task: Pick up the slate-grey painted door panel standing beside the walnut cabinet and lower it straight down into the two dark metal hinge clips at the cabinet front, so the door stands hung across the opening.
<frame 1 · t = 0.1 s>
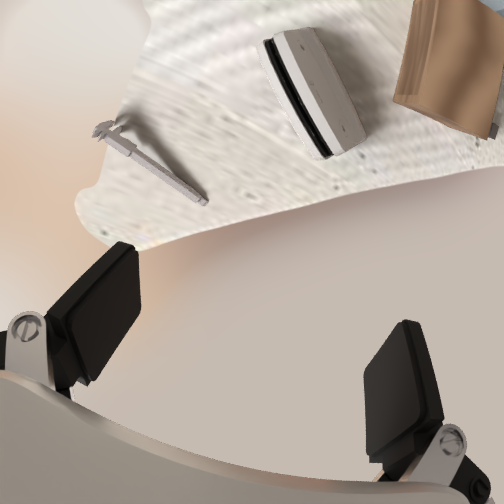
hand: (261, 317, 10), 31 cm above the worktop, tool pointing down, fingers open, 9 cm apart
caliper: (157, 159, 41), on the worktop
cabinet: (435, 62, 26), on the worktop
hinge: (314, 91, 32), on the worktop
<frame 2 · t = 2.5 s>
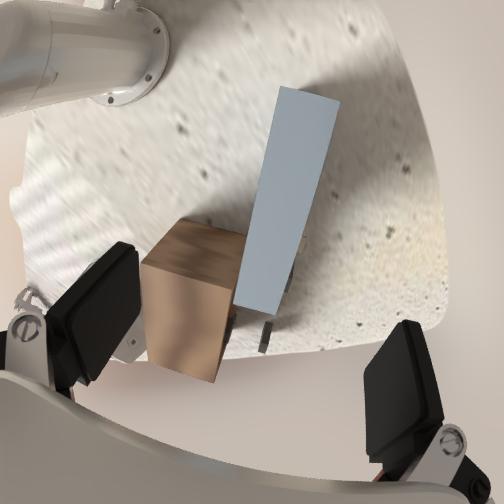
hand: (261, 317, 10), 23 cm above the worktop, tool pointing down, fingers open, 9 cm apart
caliper: (57, 316, 54), on the worktop
cabinet: (207, 280, 39), on the worktop
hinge: (122, 301, 45), on the worktop
door: (293, 159, 29), on the worktop
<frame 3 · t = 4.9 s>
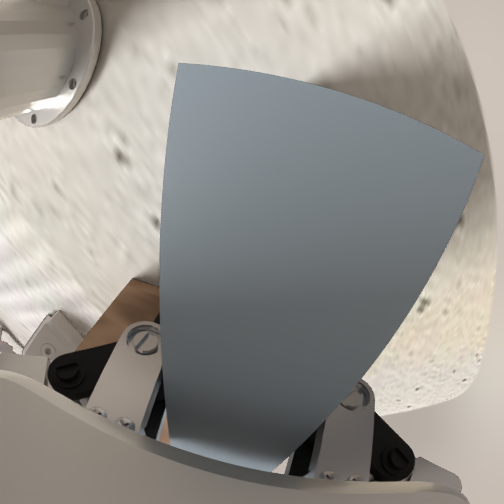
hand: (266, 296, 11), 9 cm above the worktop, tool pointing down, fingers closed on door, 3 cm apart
caliper: (28, 353, 44), on the worktop
cabinet: (176, 350, 28), on the worktop
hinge: (88, 355, 35), on the worktop
door: (288, 204, 19), on the worktop, touching gripper
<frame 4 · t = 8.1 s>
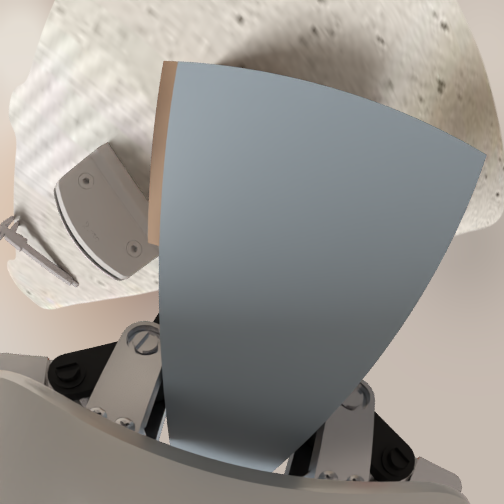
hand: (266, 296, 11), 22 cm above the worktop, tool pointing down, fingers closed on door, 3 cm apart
caliper: (43, 248, 45), on the worktop
cabinet: (234, 145, 30), on the worktop
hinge: (124, 204, 37), on the worktop
door: (288, 204, 18), point 13 cm above the worktop, touching gripper
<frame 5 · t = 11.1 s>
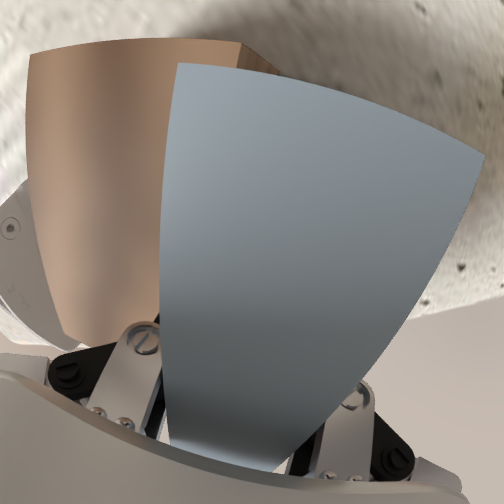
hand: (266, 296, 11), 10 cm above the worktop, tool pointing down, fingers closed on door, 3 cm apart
caliper: (0, 284, 35), on the worktop
cabinet: (189, 175, 19), on the worktop
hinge: (65, 251, 26), on the worktop
door: (288, 204, 18), point 1 cm above the worktop, touching gripper
when the fingers open (10 cm above the worktop, at t = 11.5 s): door stays where it is, on the worktop.
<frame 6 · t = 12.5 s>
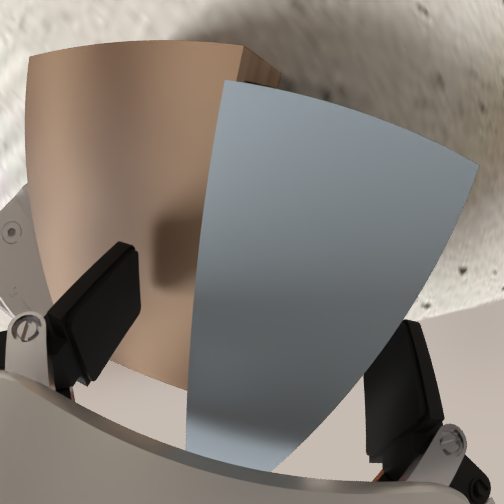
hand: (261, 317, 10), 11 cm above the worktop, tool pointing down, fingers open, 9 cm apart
caliper: (0, 286, 35), on the worktop
cabinet: (190, 178, 19), on the worktop
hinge: (67, 254, 26), on the worktop
door: (293, 204, 19), on the worktop
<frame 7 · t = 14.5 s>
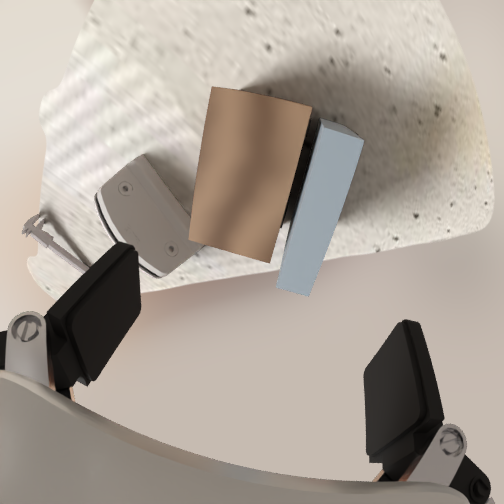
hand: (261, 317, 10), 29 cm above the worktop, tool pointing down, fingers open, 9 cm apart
caliper: (69, 246, 50), on the worktop
cabinet: (261, 158, 35), on the worktop
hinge: (158, 210, 42), on the worktop
door: (316, 174, 35), on the worktop
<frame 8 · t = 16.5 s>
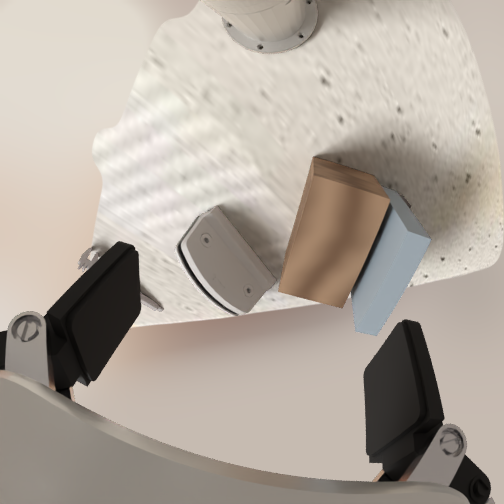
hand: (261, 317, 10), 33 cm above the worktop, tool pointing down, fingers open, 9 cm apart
caliper: (126, 278, 58), on the worktop
cabinet: (327, 216, 42), on the worktop
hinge: (230, 253, 49), on the worktop
door: (371, 229, 42), on the worktop
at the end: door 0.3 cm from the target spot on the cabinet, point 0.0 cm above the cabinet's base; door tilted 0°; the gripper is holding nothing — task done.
